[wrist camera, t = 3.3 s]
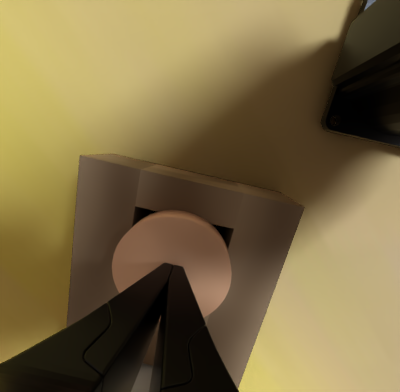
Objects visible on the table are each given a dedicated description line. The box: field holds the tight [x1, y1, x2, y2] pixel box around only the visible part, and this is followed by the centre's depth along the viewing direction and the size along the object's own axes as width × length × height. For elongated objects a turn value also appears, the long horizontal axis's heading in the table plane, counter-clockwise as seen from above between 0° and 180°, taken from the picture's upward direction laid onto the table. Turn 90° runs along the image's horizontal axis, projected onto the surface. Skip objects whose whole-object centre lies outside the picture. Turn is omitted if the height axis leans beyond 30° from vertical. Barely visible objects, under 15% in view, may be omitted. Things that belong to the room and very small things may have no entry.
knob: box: [112, 210, 232, 322], centre depth 10 cm, size 5×5×4 cm
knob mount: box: [67, 154, 305, 388], centre depth 13 cm, size 10×26×3 cm, turn 167°
